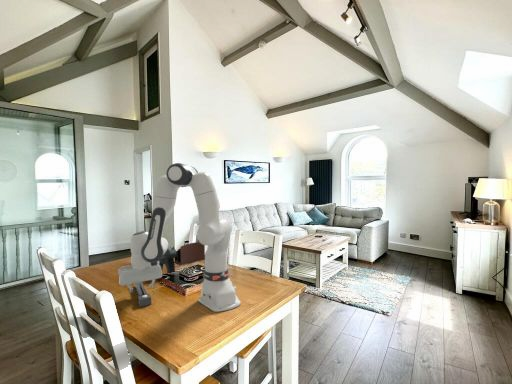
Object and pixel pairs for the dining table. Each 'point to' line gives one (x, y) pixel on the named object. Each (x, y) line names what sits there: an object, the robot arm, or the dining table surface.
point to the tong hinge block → (144, 300)
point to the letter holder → (190, 253)
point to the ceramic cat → (168, 260)
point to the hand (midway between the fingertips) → (141, 289)
